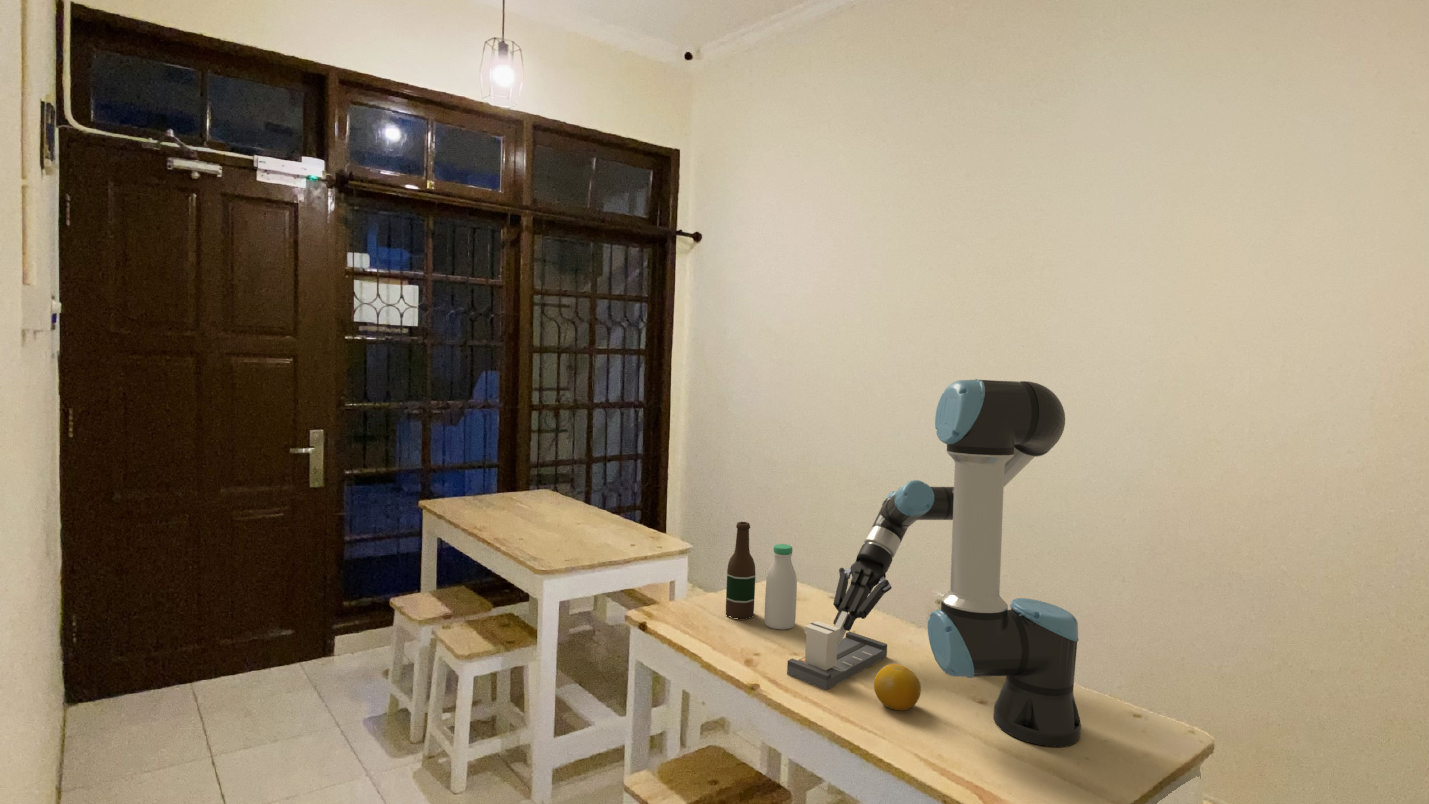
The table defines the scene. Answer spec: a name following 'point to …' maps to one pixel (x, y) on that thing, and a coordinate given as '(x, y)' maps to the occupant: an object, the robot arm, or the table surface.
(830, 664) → the fader knob
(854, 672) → the slider console
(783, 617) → the milk bottle
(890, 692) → the fruit
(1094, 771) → the table surface
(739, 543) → the beer bottle
